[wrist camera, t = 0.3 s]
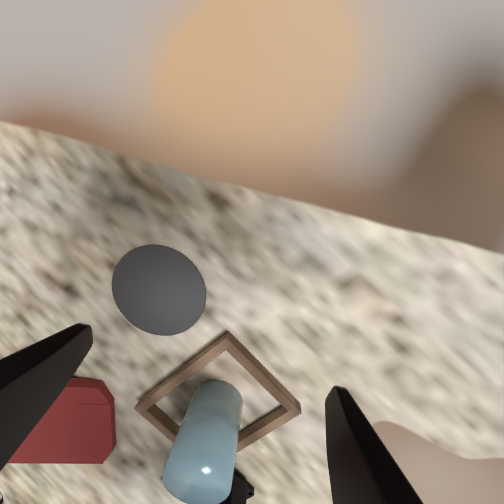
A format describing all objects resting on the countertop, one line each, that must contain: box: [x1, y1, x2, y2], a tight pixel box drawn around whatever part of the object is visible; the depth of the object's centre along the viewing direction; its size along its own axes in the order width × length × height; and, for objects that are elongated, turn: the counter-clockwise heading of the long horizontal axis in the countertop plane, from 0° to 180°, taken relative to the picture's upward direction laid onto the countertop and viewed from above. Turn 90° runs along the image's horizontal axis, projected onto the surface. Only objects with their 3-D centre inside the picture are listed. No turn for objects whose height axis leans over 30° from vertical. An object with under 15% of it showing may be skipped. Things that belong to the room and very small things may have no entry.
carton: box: [7, 378, 116, 464], centre depth 30 cm, size 12×5×25 cm
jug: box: [160, 380, 243, 504], centre depth 24 cm, size 8×6×8 cm
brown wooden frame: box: [134, 331, 301, 453], centre depth 27 cm, size 15×12×1 cm
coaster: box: [112, 246, 206, 336], centre depth 25 cm, size 10×10×1 cm
